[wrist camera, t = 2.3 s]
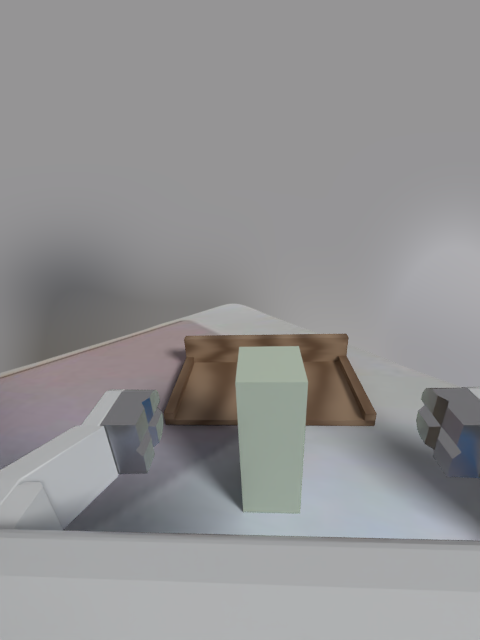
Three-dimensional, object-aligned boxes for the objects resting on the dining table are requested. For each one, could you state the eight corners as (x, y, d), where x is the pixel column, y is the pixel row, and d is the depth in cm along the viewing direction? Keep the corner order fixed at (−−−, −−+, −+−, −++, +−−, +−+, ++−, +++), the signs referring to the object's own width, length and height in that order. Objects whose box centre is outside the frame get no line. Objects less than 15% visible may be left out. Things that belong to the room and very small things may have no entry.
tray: (165, 424, 37) (159, 391, 35) (189, 362, 49) (185, 335, 47) (374, 425, 35) (380, 391, 33) (343, 361, 48) (346, 333, 46)
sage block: (243, 512, 26) (235, 382, 21) (245, 464, 31) (239, 346, 25) (299, 513, 26) (308, 382, 20) (293, 464, 31) (298, 346, 25)
